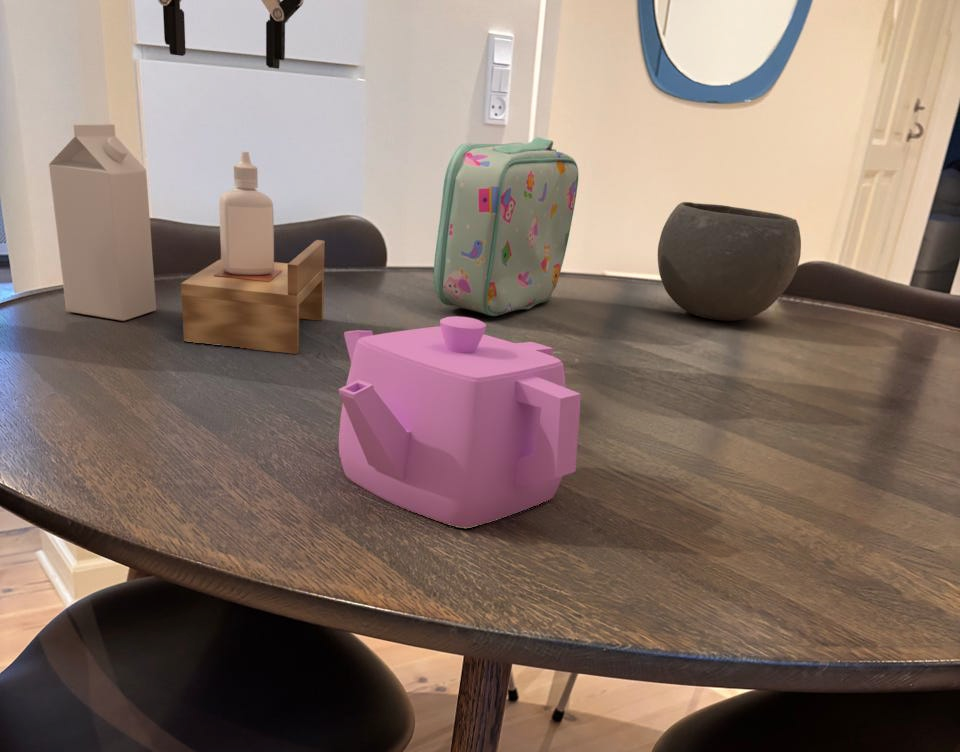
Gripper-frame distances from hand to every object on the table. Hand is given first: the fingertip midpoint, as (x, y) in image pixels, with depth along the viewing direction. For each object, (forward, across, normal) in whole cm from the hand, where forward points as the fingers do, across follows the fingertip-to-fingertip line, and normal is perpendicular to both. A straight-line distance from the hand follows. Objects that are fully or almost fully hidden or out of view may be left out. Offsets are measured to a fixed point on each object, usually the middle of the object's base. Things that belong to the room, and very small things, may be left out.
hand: (225, 61), depth 95 cm
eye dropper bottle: (+20, +2, -1) cm, 20 cm away
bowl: (+25, +64, +38) cm, 79 cm away
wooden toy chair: (+26, +4, -1) cm, 26 cm away
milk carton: (+26, -14, 0) cm, 30 cm away
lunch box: (+26, +31, +28) cm, 49 cm away
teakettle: (+26, +27, -44) cm, 58 cm away
